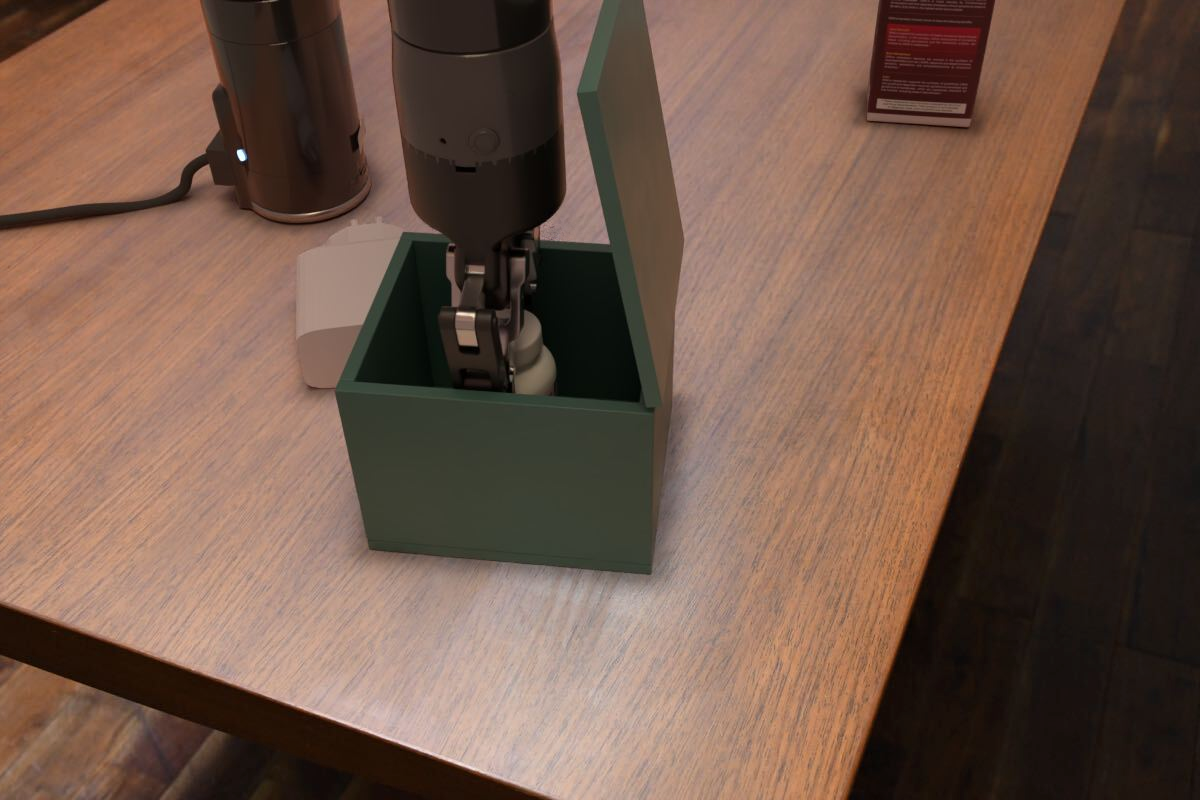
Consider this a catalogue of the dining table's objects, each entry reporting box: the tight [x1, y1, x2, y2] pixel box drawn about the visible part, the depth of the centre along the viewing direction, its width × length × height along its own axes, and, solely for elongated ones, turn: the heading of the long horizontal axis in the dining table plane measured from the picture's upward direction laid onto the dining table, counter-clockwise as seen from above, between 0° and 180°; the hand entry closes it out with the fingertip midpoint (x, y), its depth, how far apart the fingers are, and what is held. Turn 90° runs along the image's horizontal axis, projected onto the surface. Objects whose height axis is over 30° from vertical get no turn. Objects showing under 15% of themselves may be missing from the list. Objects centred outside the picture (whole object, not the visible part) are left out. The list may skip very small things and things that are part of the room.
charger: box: [295, 215, 408, 389], centre depth 81 cm, size 5×9×15 cm
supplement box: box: [866, 0, 996, 128], centre depth 96 cm, size 9×5×16 cm, turn 80°
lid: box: [576, 0, 685, 408], centre depth 56 cm, size 16×14×1 cm
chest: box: [333, 231, 676, 575], centre depth 67 cm, size 16×14×12 cm
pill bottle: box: [496, 309, 558, 397], centre depth 67 cm, size 5×5×10 cm
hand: (506, 387), depth 67 cm, fingers closed on pill bottle, 5 cm apart
